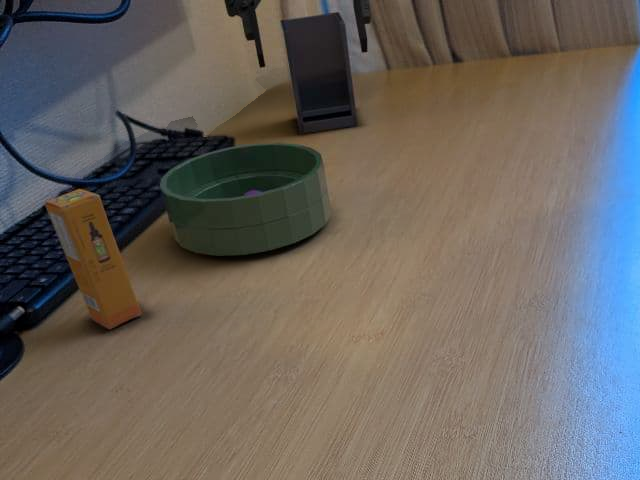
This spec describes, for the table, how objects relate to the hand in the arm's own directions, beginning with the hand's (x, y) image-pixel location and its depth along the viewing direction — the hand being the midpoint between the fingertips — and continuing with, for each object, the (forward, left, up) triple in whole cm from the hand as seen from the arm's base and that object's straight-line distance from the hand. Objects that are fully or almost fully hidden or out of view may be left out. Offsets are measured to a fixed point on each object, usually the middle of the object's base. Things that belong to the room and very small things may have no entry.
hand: (313, 53), depth 107 cm
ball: (+42, -9, -4) cm, 43 cm away
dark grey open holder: (+9, 0, -6) cm, 11 cm away
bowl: (+41, -10, -6) cm, 42 cm away
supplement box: (+56, -22, -6) cm, 60 cm away
